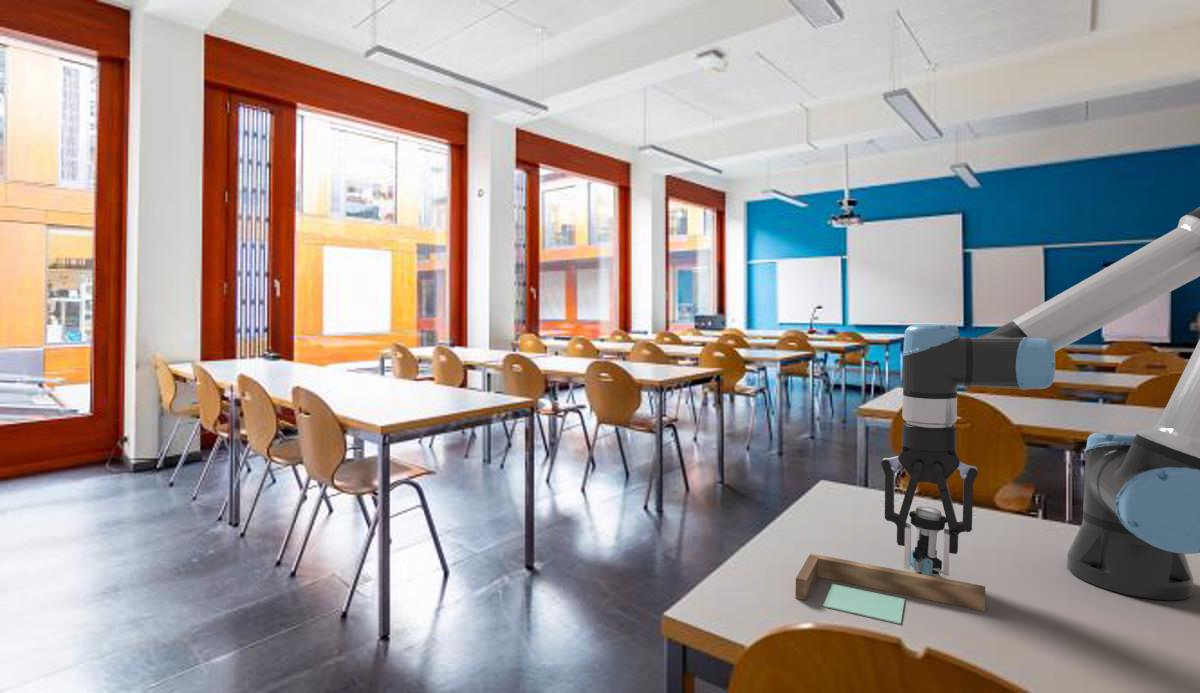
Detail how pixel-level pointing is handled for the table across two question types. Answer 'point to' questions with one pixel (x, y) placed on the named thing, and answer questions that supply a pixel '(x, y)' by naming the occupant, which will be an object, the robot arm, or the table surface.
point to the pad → (865, 603)
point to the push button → (927, 540)
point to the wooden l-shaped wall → (888, 581)
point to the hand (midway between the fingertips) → (926, 568)
